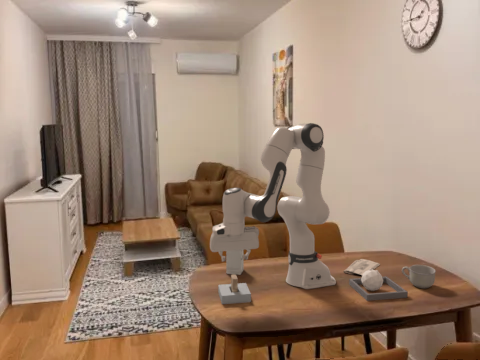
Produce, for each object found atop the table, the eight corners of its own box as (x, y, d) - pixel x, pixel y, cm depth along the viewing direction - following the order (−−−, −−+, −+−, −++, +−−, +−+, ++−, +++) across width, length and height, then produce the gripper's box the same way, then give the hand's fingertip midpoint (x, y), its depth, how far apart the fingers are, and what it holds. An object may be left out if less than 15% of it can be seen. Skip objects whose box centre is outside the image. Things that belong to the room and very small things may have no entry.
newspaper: (356, 261, 231) (357, 256, 230) (379, 268, 224) (380, 263, 223) (339, 273, 212) (339, 268, 212) (363, 281, 205) (363, 276, 205)
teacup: (438, 285, 196) (439, 268, 194) (429, 292, 188) (430, 274, 187) (407, 277, 205) (408, 261, 204) (397, 284, 197) (398, 267, 196)
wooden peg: (235, 292, 186) (235, 274, 185) (237, 297, 181) (237, 278, 180) (231, 292, 186) (230, 274, 185) (232, 297, 181) (232, 279, 180)
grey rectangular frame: (386, 281, 200) (386, 276, 200) (407, 297, 183) (407, 291, 182) (349, 284, 197) (349, 279, 197) (366, 300, 180) (367, 294, 179)
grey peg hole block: (245, 290, 191) (245, 282, 190) (250, 302, 179) (250, 293, 179) (218, 292, 189) (218, 284, 188) (221, 304, 177) (221, 295, 177)
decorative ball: (366, 288, 199) (377, 265, 196) (378, 302, 190) (390, 278, 186) (350, 284, 196) (361, 261, 193) (361, 298, 187) (373, 275, 184)
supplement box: (241, 275, 210) (240, 249, 208) (226, 274, 211) (225, 248, 209) (244, 269, 217) (243, 245, 215) (229, 268, 218) (229, 244, 217)
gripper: (257, 224, 184) (257, 255, 187) (208, 227, 181) (210, 259, 183) (260, 227, 178) (261, 260, 180) (210, 231, 175) (211, 264, 177)
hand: (234, 260), depth 182 cm, fingers open, 8 cm apart
